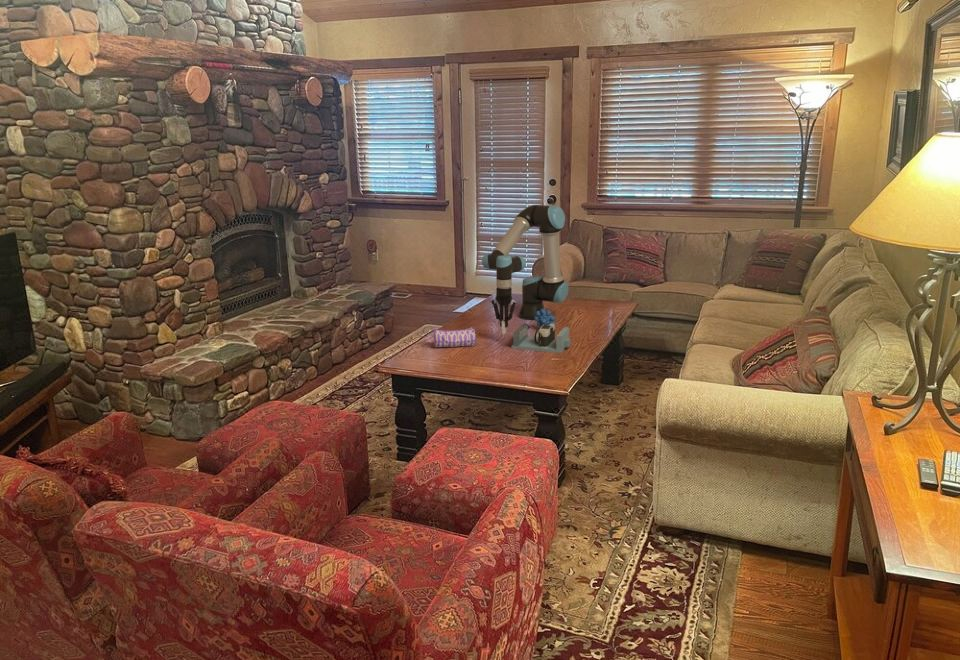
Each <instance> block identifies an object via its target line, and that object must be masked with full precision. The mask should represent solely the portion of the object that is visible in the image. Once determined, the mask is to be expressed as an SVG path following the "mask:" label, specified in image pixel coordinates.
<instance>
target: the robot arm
mask: <svg viewBox="0 0 960 660" xmlns="http://www.w3.org/2000/svg"><path fill="white" fill-rule="evenodd" d="M565 222H566V216H565V212H564V209H563V208H562V207H560V206H555V205H545V204H544V205H543V204H542V205H541V204H540V205H539V204H533V205H530V206H529V205H528V206H527V207H526V208H524V209H522V210H521V211H520V212H519V213H518V214H517V215H516V216H515V217H514V219H513V223H512V224H511V226H510V227H509V229H508V230H507V232H506V233H505V234H504V236H503V237H501V240H499V242H498V244H497V245H496V246H495V248H494V249H493V251H492V252H491V253H486V254H484V255H483V256H482V259H481V264H482V267H483V268H484V269H487V270H495V271H496V274H495V275H496V279H495V280H496V281H495V282H496V283H495V284H496V289H495V290H496V292H495V293H496V294H495V295H496V296H495V298H493V299H491V301H490V303H492V306H493V309H494V314H495V318H496V320H499V327H500V328H501V334H503V335H505V334H507V328H508V326H509V321H511V319H512V318H513V315H514V310H515V306H516V305H517V303H518V302H517V301H515V300H514V299H513V296H512V295H513V294H512V293H513V291H512V286H513V285H512V282H513V279H512V277H513V276H512V275H513V274H514V273H517V272H520V271H523V270H524V269H525V267H526V264H527V263H526V260H525V258H524V257H523V256H522V255H521V256H520V255H516V256H510V255H509V254H510V253H511V251H512V250H513V249H514V248H515V246H516V245H517V243H518V242H519V241H520V239H521V238H522V237H523V235H524V234H525V233H526V232H527V231H529V230H530V229H531V228H534V227H535V228H539V233H540V234H541V235H542V247H543V261H544V277H543V275H534V276H528V277H527V276H526V277H524V278H523V279H522V283H521V284H522V285H521V289H522V291H521V292H522V293H521V296H522V298H521V299H522V300H521V301H522V303H521V306H520V309H519V311H518V312H519V313H518V317H519V319H523V320H528V321H536V320H535V319H534V317H535V316H537V315H536V311H540V310H541V309H545V307H544V302H549V303H558V304H561V303H563V302H565V300H566V299H567V297H568V294H569V289H570V288H569V284H568V283H567V281H566V282H565V278H564V276H563V275H562V272H561V255H560V254H561V253H560V237H559V236H560V232H562V228H564V226H565ZM498 305H499V306H498ZM509 305H510V306H509ZM509 307H510V309H509Z"/></svg>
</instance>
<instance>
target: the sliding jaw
mask: <svg viewBox="0 0 960 660" xmlns="http://www.w3.org/2000/svg"><path fill="white" fill-rule="evenodd" d="M530 327H531V326H529V323H522V324H520V326H518V327H517V328H516V329H515V330H514V331H513V344H514V345H516V346H519V345H520V344H521V343H522V342H523V341H524V340H525V339H526V338H527V337H529V335H528V333H529V330H530Z"/></svg>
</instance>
